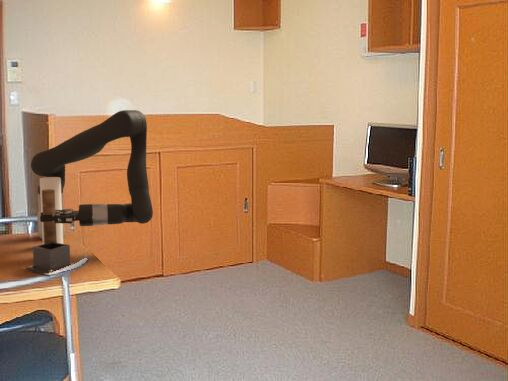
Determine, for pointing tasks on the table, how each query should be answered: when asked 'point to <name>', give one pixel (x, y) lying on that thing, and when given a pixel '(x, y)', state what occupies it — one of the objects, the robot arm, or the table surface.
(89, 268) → the table surface
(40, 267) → the dark grey open box
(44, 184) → the cream tall block
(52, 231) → the walnut rail
